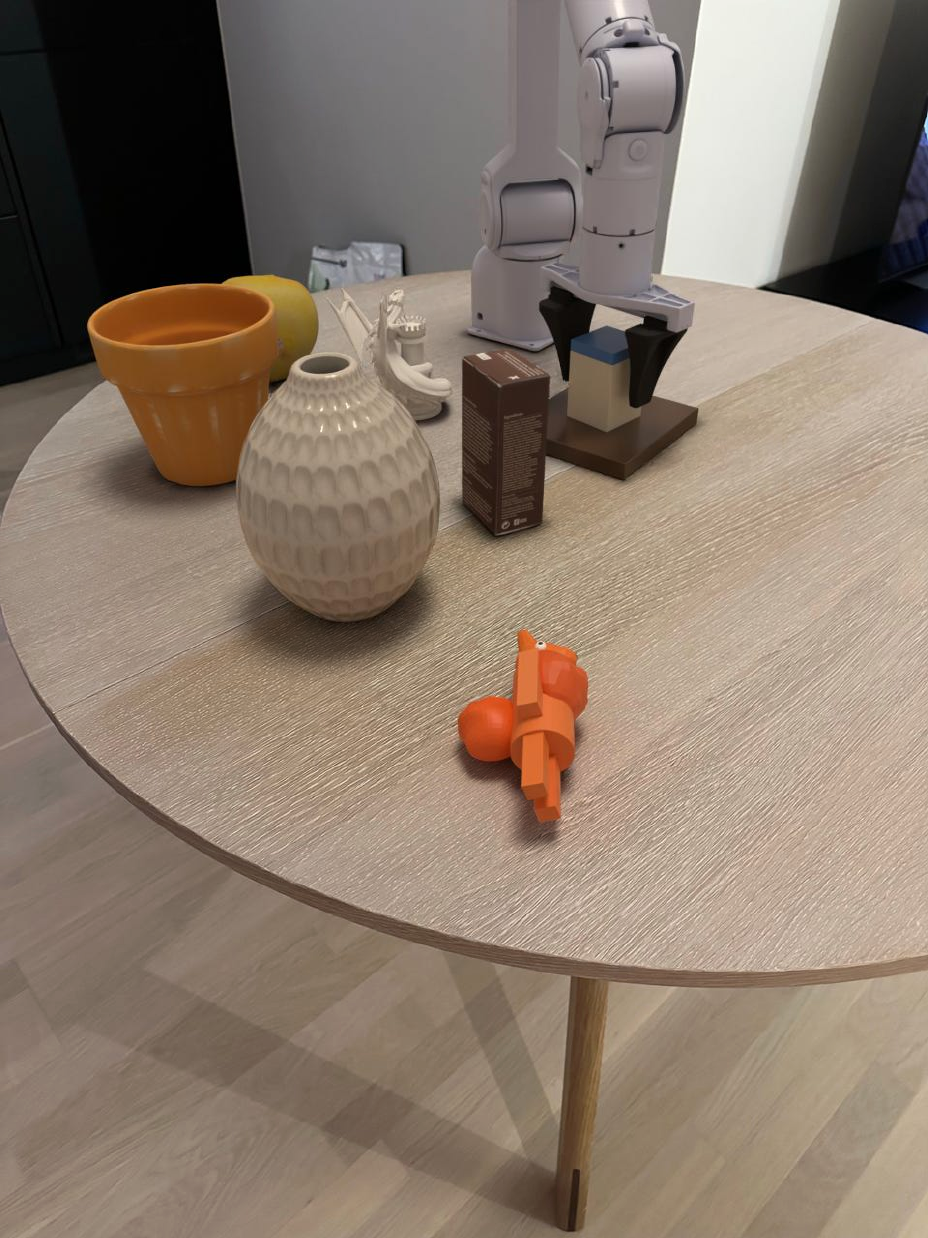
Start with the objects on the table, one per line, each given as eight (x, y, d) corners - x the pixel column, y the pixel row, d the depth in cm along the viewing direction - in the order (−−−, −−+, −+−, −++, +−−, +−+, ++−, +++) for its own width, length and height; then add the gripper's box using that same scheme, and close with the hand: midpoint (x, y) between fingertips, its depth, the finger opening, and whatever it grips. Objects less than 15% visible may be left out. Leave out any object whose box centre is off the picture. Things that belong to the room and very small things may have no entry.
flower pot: (207, 413, 87) (178, 272, 80) (328, 446, 82) (310, 298, 74) (91, 478, 78) (45, 326, 70) (219, 520, 72) (185, 360, 64)
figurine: (458, 395, 90) (455, 268, 82) (445, 431, 84) (440, 298, 76) (350, 390, 91) (337, 265, 84) (329, 425, 85) (313, 293, 78)
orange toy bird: (580, 758, 44) (574, 605, 53) (432, 787, 46) (452, 634, 55) (607, 826, 46) (597, 669, 56) (467, 850, 48) (480, 695, 58)
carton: (566, 415, 82) (571, 339, 78) (600, 400, 85) (606, 324, 80) (606, 432, 80) (613, 353, 75) (640, 416, 82) (648, 338, 78)
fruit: (341, 377, 94) (331, 276, 87) (242, 404, 89) (224, 299, 83) (296, 346, 100) (284, 250, 94) (202, 370, 96) (182, 271, 90)
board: (505, 440, 82) (505, 425, 81) (584, 390, 90) (584, 376, 89) (623, 480, 76) (625, 464, 75) (696, 423, 84) (699, 407, 83)
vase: (369, 679, 57) (343, 431, 47) (217, 614, 63) (163, 379, 52) (478, 576, 66) (476, 347, 55) (335, 527, 71) (309, 310, 61)
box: (546, 523, 71) (553, 373, 64) (494, 538, 69) (495, 386, 62) (509, 488, 75) (511, 344, 68) (459, 501, 74) (456, 355, 66)
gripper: (727, 233, 70) (702, 401, 78) (582, 200, 79) (573, 354, 87) (669, 254, 66) (649, 428, 75) (524, 216, 75) (521, 376, 83)
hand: (605, 390), depth 81 cm, fingers open, 7 cm apart
